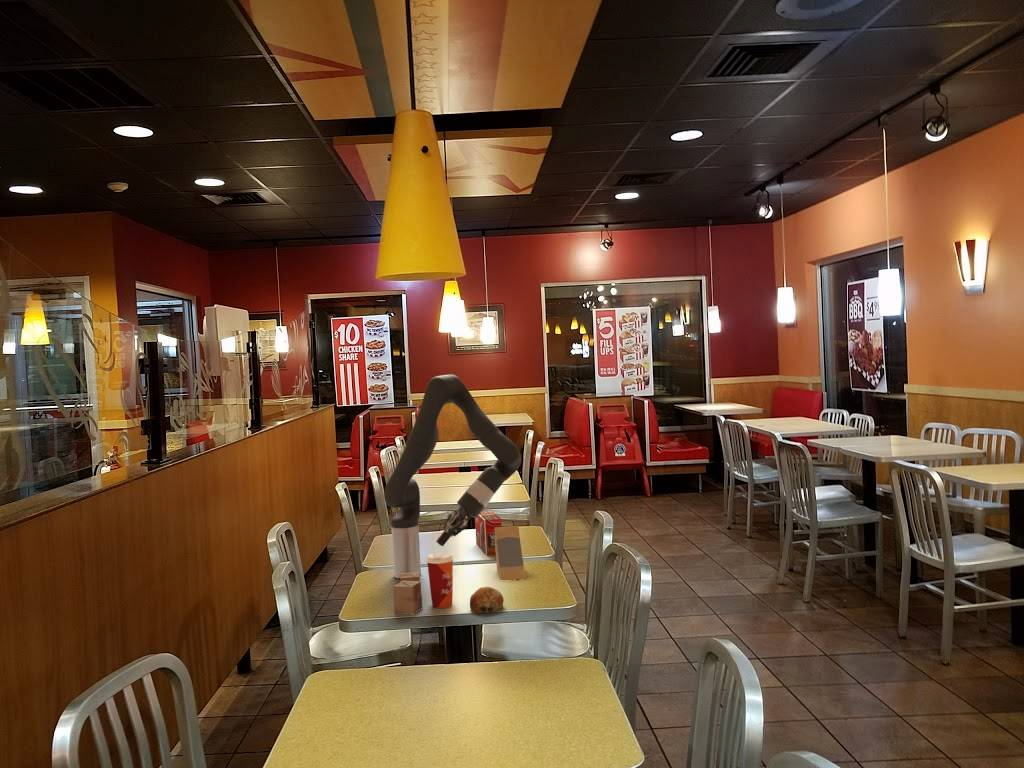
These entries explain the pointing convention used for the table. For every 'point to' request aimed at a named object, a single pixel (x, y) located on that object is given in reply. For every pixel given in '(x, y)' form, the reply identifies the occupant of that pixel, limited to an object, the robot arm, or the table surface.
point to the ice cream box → (487, 531)
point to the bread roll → (486, 600)
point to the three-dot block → (407, 597)
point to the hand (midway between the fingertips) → (439, 544)
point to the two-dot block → (410, 576)
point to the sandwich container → (509, 553)
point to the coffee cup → (441, 579)
